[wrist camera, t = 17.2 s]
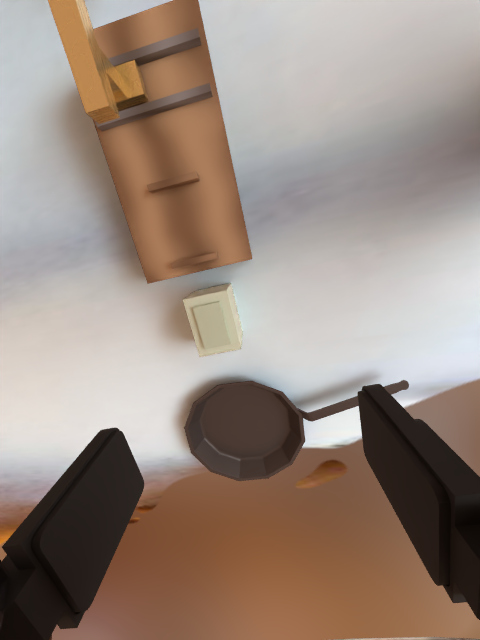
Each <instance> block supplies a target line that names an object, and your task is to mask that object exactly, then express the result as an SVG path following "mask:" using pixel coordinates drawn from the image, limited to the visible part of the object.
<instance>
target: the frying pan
mask: <svg viewBox="0 0 480 640" xmlns="http://www.w3.org/2000/svg"><path fill="white" fill-rule="evenodd" d="M408 387H409V384H408V382H407V381H405V380H403V381H401V382H399V383H395V384H391V385H388V386H385V387H384V388H385V389H386V390H387V392H388V393H389V394H390V395H391V394H394V393H397V392H399V391H401V390H406V389H407V388H408ZM356 406H359V402H358V396H356V397H353V398H350V399H347V400H345V401H342V402H339V403H336V404H333V405H330V406H327V407H324V408H322V409H319V410H316V411H313V412H309V413H307V412H304V411H302V410H300V409H298V408H296V407H295V406H294V404H293V403H292V402H291V401H290V400H289V399H288V398H287V396H286V395H285V394H284V393H283V392H282V391H279V390H276V389H273V388H270V387H267V386H265V385H262V384H259V383H256V382H253V381H245V382H237V383H230V384H222V385H217V386H216V387H215V388H213V389H212V390H210V391H209V392H208V393H206V394H205V395H204V396H202V397H201V398H199V399H198V400H197V401H195V402H194V403H193V406H192V408H191V411H190V414H189V417H188V419H187V422H186V425H185V427H184V429H185V432H186V436H187V440H188V443H189V447H190V450H191V453H192V454H193V455H194V456H195V457H196V458H197V459H198V460H199V461H200V462H201V463H202V464H203V465H204V466H205V467H206V468H207V469H209V470H210V471H211V472H213V473H216V474H219V475H222V476H225V477H228V478H231V479H234V480H237V481H244V480H254V479H266V478H269V477H271V476H273V475H275V474H276V473H278V472H280V471H281V470H283V469H285V468H286V467H288V466H290V465H292V464H293V462H294V460H295V458H296V457H297V455H298V453H299V451H300V449H301V448H302V446H303V444H304V442H305V435H304V426H303V418H304V419H306V420H308V421H315V420H318V419H321V418H324V417H327V416H330V415H333V414H336V413H338V412H341V411H344V410H347V409H350V408H353V407H356Z"/></svg>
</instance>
